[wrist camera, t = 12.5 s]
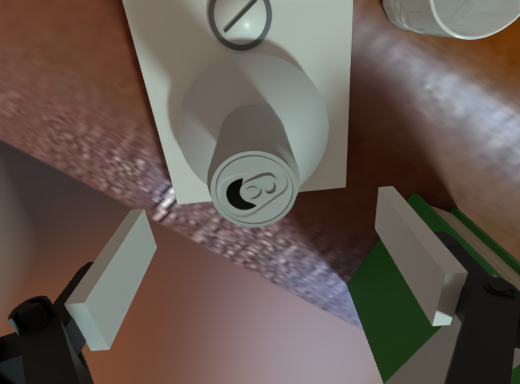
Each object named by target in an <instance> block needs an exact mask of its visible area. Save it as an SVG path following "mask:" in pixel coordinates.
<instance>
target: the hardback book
mask: <svg viewBox="0 0 520 384" xmlns="http://www.w3.org/2000/svg"><path fill="white" fill-rule="evenodd" d="M406 202H407V203H408V204H409V205H410V206H411V207H412V209H413V210H414V211H415V212H416V213H417V214H418V215H419V217H420V218H421V219H422V220H423V221H424V222H425V224H426V225H427V226H428V227H429V228H430V229H431V230H432V232H439V231H444V232H446V233H447V234H449V235H451V236H452V237H454V238H455V239H456V240H457V241H458V242H459V243H460V244H461V245H462V247H464V248H465V249H466V250H467V251H468V254H470V255H471V256H472V257H473V258H474V259H475V260H476V261H477V262H478V263H479V264H480V265H481V266H482V267H483V268H484V269H485V270H486V271H487V272H488V274H489V275H490V276H494V277H498V278H501V279H503V280H506V281H508V282H509V283H511V284H512V285H514V286H515V287H516V288H517V289H518V291H520V262H519V261H517V260H516V259H515V258H514V257H513V256H512V255H510V254H509V253H508V252H507V251H506V250H505V249H504V248H502V247H501V246H500V245H499V244H498V243H497V242H496V241H494V240H493V239H492V238H491V237H490V236H489V235H487V234H486V233H485V232H484V231H483V230H482V229H481V228H479V227H478V226H477V225H476V224H475V223H474V222H472V221H471V220H470V219H469V218H468V217H467V216H466V215H464V214H463V213H462V212H461V211H460V210H459V209H456V208H454V207H453V208H452V209H451V210H450V211H449V212H446V211H444V210H441V209H438V208H436V207H433V206H430V205H429V204H428V203H427V202H426V201H425V200H424V199H423V198H422V197H421V196H420V195H419V194H417V193H414V192H413V193H412V194H411V196H410V197H409V199H408V200H407V201H406ZM347 287H348V289H349V292H350V295H351V297H352V300H353V303H354V305H355V308H356V311H357V313H358V316H359V319H360V321H361V324H362V327H363V329H364V332H365V335H366V337H367V340H368V343H369V345H370V348H371V351H372V354H373V356H374V359H375V362H376V364H377V367H378V370H379V372H380V375H381V378H382V380H383V383H384V384H444V382H445V378H446V375H447V371H448V368H449V364H450V361H451V358H452V354H453V351H454V347H455V344H456V339H457V336H458V333H459V330H460V327H461V324H462V323H461V321H460V320H459V319H458V317H457V316H456V314H455V317H454V320H453V323H452V325H440V326H432V325H431V323H430V321H429V320H428V318H427V316H426V315H425V313H424V311H423V309H422V308H421V306H420V304H419V303H418V301H417V299H416V298H415V296H414V294H413V293H412V291H411V289H410V287H409V286H408V284H407V282H406V281H405V279H404V277H403V276H402V274H401V272H400V271H399V269H398V267H397V265H396V264H395V262H394V260H393V259H392V257H391V255H390V254H389V252H388V250H387V248H386V247H385V245H384V243H383V242H382V240H381V238H380V239H379V240H378V242H377V243H376V245H375V246H374V247H373V249H372V250H371V252H370V253H369V254H368V256H367V257H366V259H365V260H364V261H363V263H362V264H361V266H360V267H359V268H358V270H357V271H356V273H355V274H354V275H353V277H352V278H351V279H350V281H349V282H348V284H347ZM511 384H520V349H518V348H515V352H514V360H513V368H512V377H511Z"/></svg>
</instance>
